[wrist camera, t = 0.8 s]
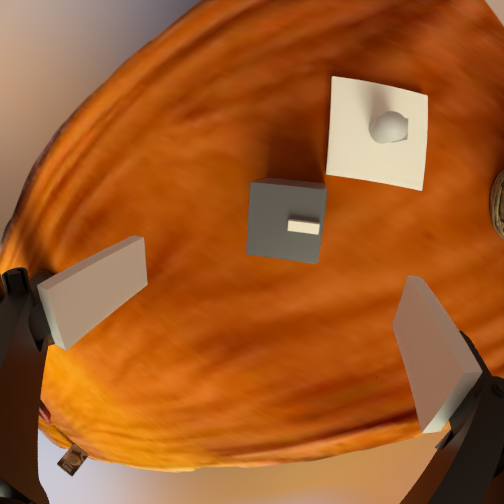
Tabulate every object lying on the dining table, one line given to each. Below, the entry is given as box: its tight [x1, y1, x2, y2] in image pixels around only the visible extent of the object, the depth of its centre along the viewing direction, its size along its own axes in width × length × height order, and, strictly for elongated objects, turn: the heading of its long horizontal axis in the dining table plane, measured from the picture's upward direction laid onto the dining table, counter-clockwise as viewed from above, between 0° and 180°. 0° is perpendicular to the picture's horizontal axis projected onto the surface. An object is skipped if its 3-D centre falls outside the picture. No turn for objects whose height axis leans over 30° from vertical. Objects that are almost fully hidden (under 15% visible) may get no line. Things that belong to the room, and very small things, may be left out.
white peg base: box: [326, 76, 428, 191], centre depth 21 cm, size 10×10×6 cm
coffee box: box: [57, 444, 89, 476], centre depth 75 cm, size 9×6×16 cm
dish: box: [39, 400, 51, 425], centre depth 72 cm, size 16×31×5 cm, turn 32°
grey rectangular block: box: [246, 177, 327, 264], centre depth 25 cm, size 6×6×8 cm
